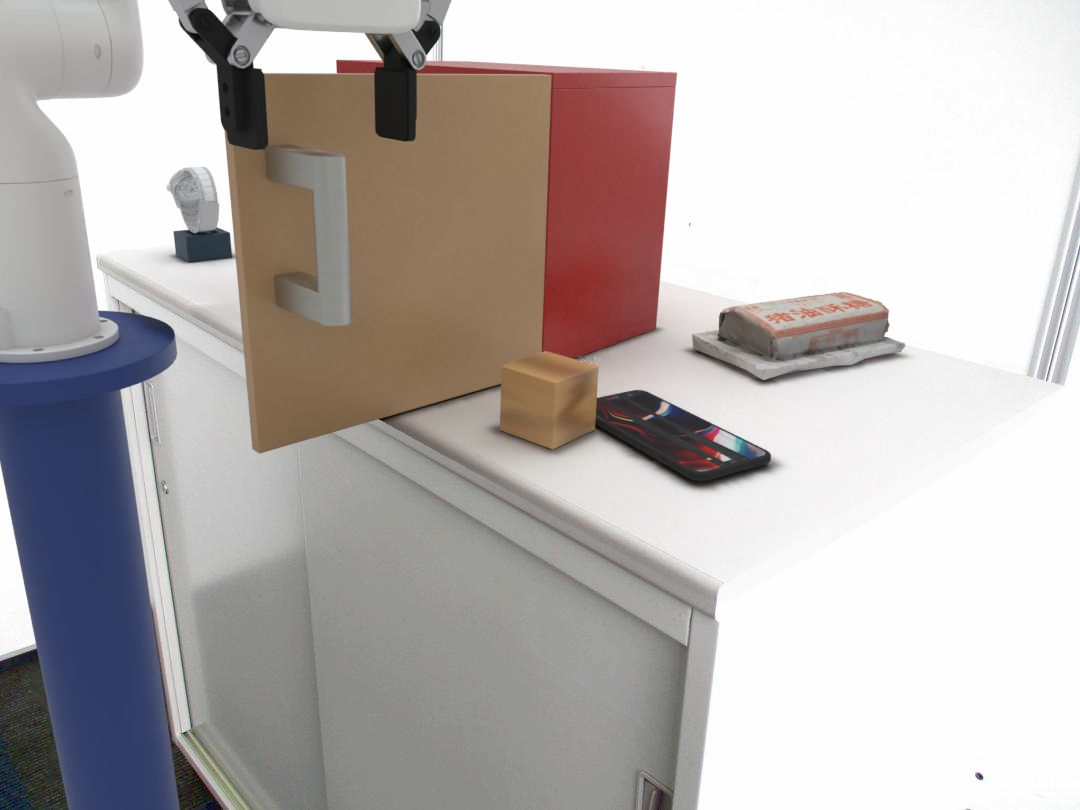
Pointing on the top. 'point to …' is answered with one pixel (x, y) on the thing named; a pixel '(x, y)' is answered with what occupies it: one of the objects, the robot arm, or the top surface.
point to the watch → (198, 216)
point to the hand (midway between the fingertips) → (326, 142)
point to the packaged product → (800, 334)
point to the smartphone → (676, 436)
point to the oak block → (548, 399)
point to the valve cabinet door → (387, 247)
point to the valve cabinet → (596, 197)
